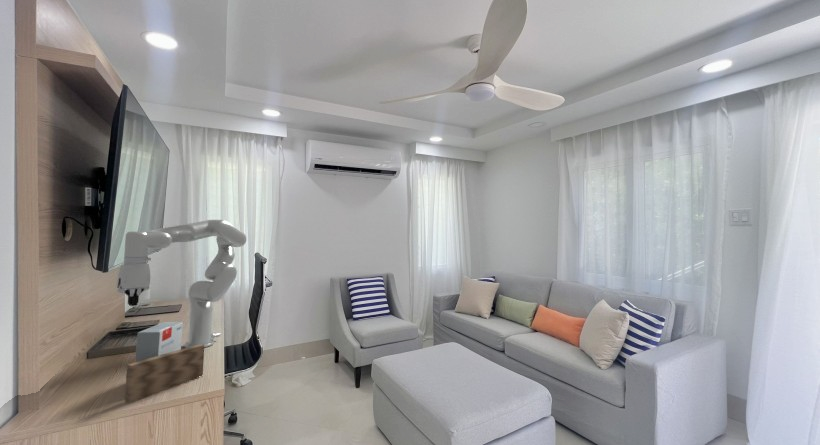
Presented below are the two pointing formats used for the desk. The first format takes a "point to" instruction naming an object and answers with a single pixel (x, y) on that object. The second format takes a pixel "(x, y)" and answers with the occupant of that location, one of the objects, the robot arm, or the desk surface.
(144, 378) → the walnut board
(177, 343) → the hard drive box
